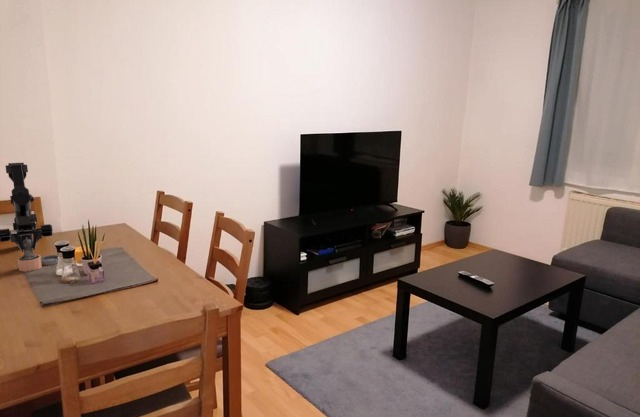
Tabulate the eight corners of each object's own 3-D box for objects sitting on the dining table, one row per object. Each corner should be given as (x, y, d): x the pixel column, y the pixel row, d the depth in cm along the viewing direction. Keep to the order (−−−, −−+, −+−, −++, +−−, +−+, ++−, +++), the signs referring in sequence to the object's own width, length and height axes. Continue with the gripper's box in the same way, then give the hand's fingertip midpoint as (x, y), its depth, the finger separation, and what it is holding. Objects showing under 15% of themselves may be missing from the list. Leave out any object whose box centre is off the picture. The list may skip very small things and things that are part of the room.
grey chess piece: (41, 263, 190) (38, 235, 187) (31, 268, 184) (28, 239, 181) (28, 262, 190) (25, 234, 188) (18, 267, 185) (14, 238, 182)
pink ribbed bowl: (18, 267, 188) (17, 256, 187) (40, 263, 193) (39, 253, 192) (19, 272, 182) (18, 262, 181) (42, 269, 187) (41, 258, 186)
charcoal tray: (36, 261, 195) (36, 257, 194) (56, 257, 200) (56, 253, 200) (43, 266, 190) (42, 262, 189) (63, 261, 195) (63, 257, 195)
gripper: (-6, 210, 180) (-2, 244, 174) (49, 205, 190) (54, 237, 184) (-3, 224, 188) (1, 258, 182) (49, 219, 198) (54, 250, 192)
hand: (28, 250), depth 185 cm, fingers closed on grey chess piece, 4 cm apart
